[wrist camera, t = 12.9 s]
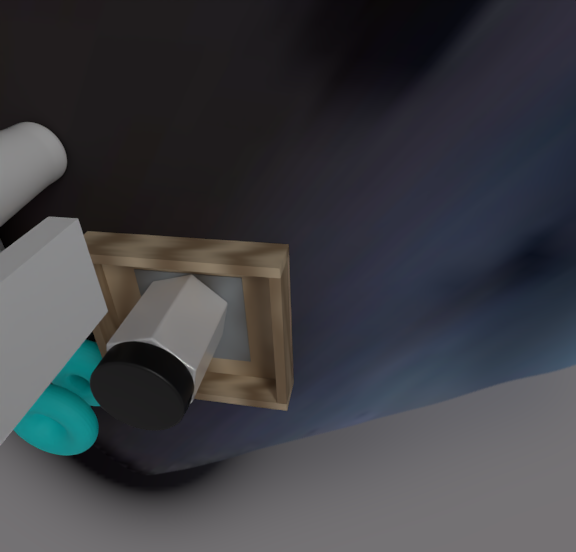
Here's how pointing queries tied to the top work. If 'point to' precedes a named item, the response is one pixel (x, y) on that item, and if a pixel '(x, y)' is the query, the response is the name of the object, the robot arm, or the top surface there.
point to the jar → (160, 354)
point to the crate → (224, 282)
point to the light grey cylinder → (27, 165)
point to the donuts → (65, 408)
